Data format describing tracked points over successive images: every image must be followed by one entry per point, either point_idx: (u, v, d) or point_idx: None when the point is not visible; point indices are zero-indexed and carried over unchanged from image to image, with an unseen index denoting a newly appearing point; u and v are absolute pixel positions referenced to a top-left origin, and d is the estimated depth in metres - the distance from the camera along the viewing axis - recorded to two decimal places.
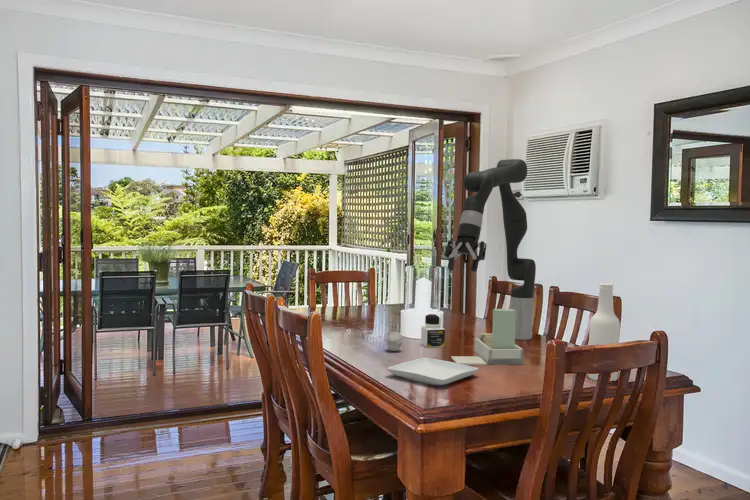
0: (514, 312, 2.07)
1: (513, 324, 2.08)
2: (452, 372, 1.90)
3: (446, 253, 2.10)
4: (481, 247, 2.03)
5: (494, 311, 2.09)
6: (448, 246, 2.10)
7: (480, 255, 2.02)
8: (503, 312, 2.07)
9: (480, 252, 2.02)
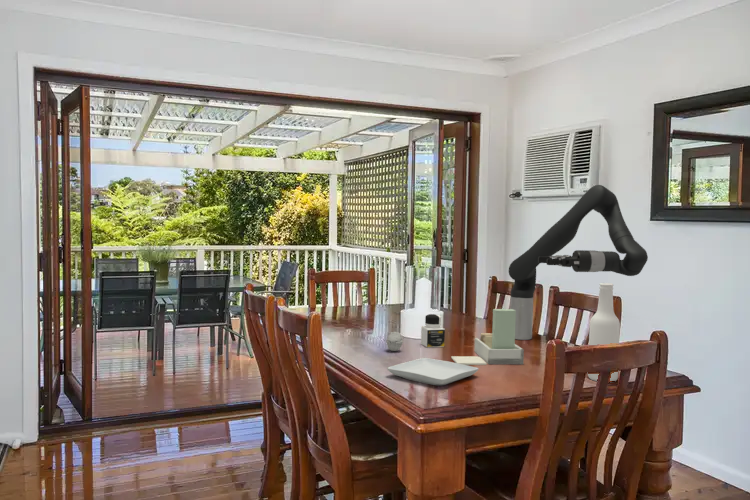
0: (514, 312, 2.07)
1: (513, 324, 2.08)
2: (452, 372, 1.90)
3: None
4: (572, 258, 2.03)
5: (494, 311, 2.09)
6: None
7: (564, 258, 2.03)
8: (503, 312, 2.07)
9: (567, 258, 2.03)
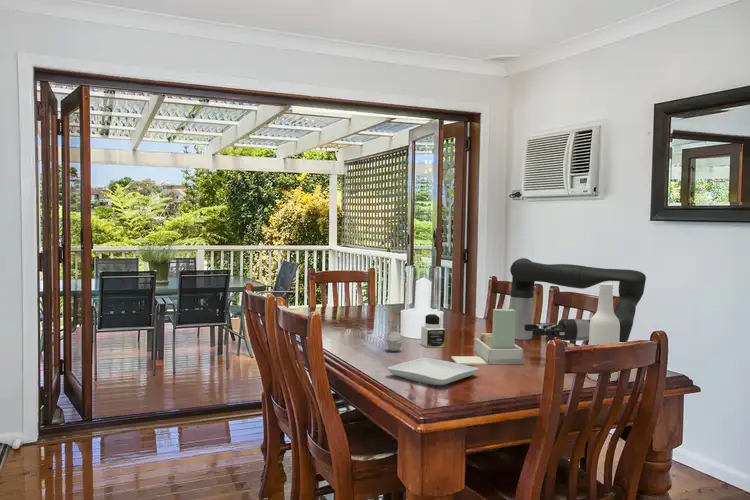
0: (514, 312, 2.07)
1: (513, 324, 2.08)
2: (452, 372, 1.90)
3: (537, 323, 2.17)
4: (558, 329, 2.04)
5: (494, 311, 2.09)
6: None
7: (550, 330, 2.04)
8: (503, 312, 2.07)
9: (553, 329, 2.04)
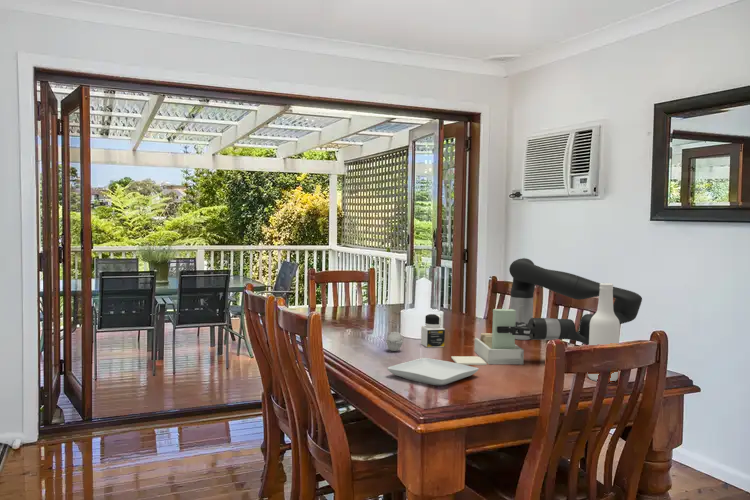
0: (514, 312, 2.07)
1: (513, 324, 2.08)
2: (452, 373, 1.90)
3: None
4: (523, 328, 2.04)
5: (494, 311, 2.09)
6: None
7: (514, 327, 2.05)
8: (503, 312, 2.07)
9: (517, 327, 2.05)
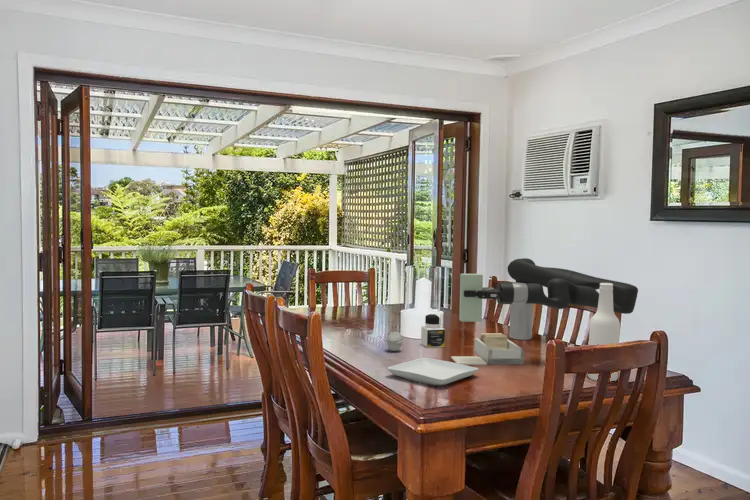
0: (481, 276, 2.06)
1: (480, 288, 2.06)
2: (452, 373, 1.90)
3: None
4: (489, 291, 2.03)
5: (461, 275, 2.07)
6: None
7: (481, 291, 2.03)
8: (470, 276, 2.05)
9: (484, 291, 2.03)
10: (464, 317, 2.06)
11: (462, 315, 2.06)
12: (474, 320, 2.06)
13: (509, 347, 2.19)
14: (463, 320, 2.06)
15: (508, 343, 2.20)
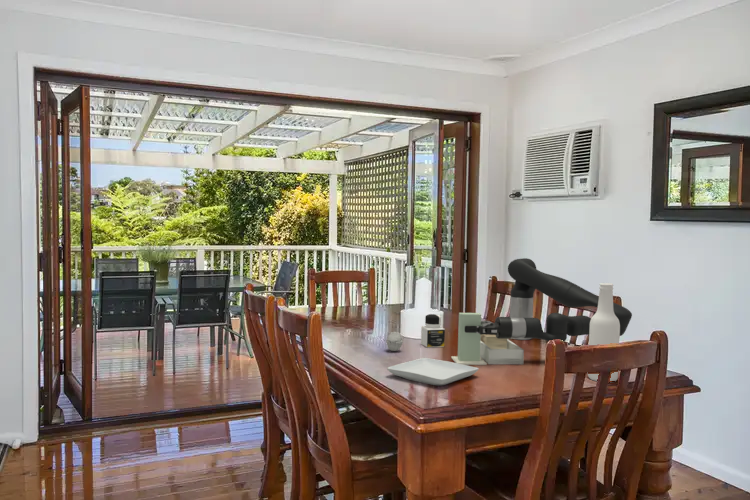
0: (479, 316, 2.06)
1: None
2: (452, 373, 1.90)
3: None
4: (490, 327, 2.03)
5: (459, 315, 2.08)
6: None
7: (482, 326, 2.03)
8: (468, 316, 2.06)
9: (485, 327, 2.03)
10: (462, 356, 2.07)
11: (460, 354, 2.07)
12: (472, 359, 2.07)
13: (509, 347, 2.19)
14: (461, 359, 2.07)
15: (508, 343, 2.20)
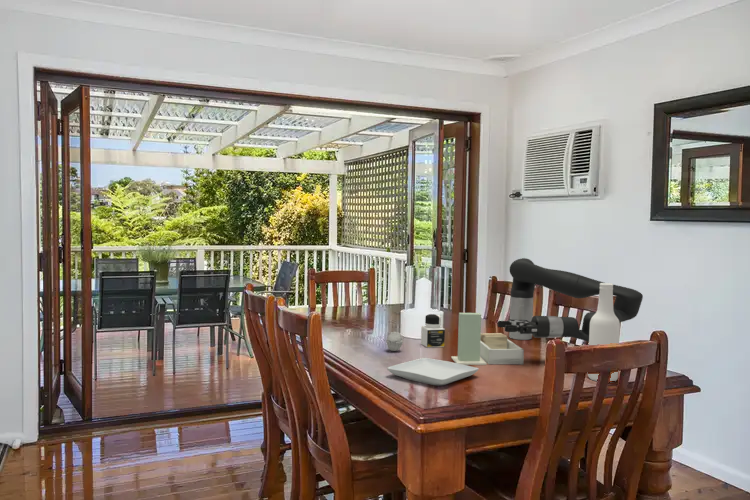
0: (479, 316, 2.06)
1: (478, 328, 2.07)
2: (452, 373, 1.90)
3: (511, 319, 2.16)
4: (530, 326, 2.03)
5: (459, 315, 2.08)
6: None
7: (522, 326, 2.03)
8: (468, 316, 2.06)
9: (525, 326, 2.03)
10: (462, 356, 2.07)
11: (460, 354, 2.07)
12: (472, 359, 2.07)
13: (509, 347, 2.19)
14: (461, 359, 2.07)
15: (508, 343, 2.20)
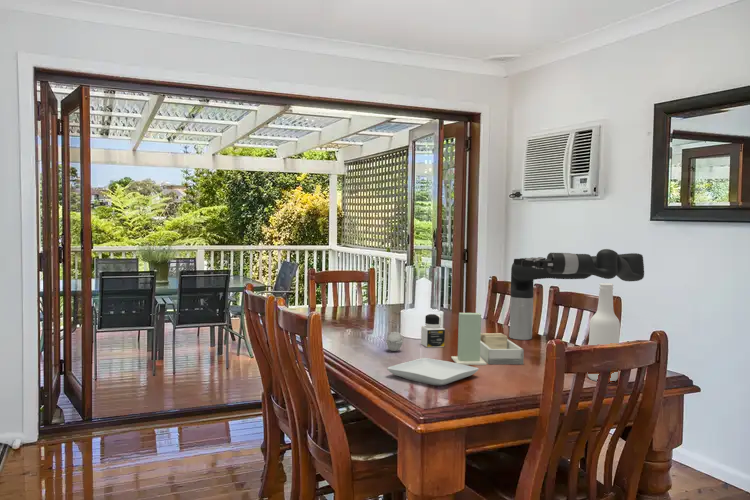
0: (479, 316, 2.06)
1: (478, 328, 2.07)
2: (452, 373, 1.90)
3: (527, 258, 2.21)
4: (546, 260, 2.09)
5: (459, 315, 2.08)
6: (534, 258, 2.21)
7: (539, 260, 2.08)
8: (468, 316, 2.06)
9: (541, 260, 2.09)
10: (462, 356, 2.07)
11: (460, 354, 2.07)
12: (472, 359, 2.07)
13: (509, 347, 2.19)
14: (461, 359, 2.07)
15: (508, 343, 2.20)
